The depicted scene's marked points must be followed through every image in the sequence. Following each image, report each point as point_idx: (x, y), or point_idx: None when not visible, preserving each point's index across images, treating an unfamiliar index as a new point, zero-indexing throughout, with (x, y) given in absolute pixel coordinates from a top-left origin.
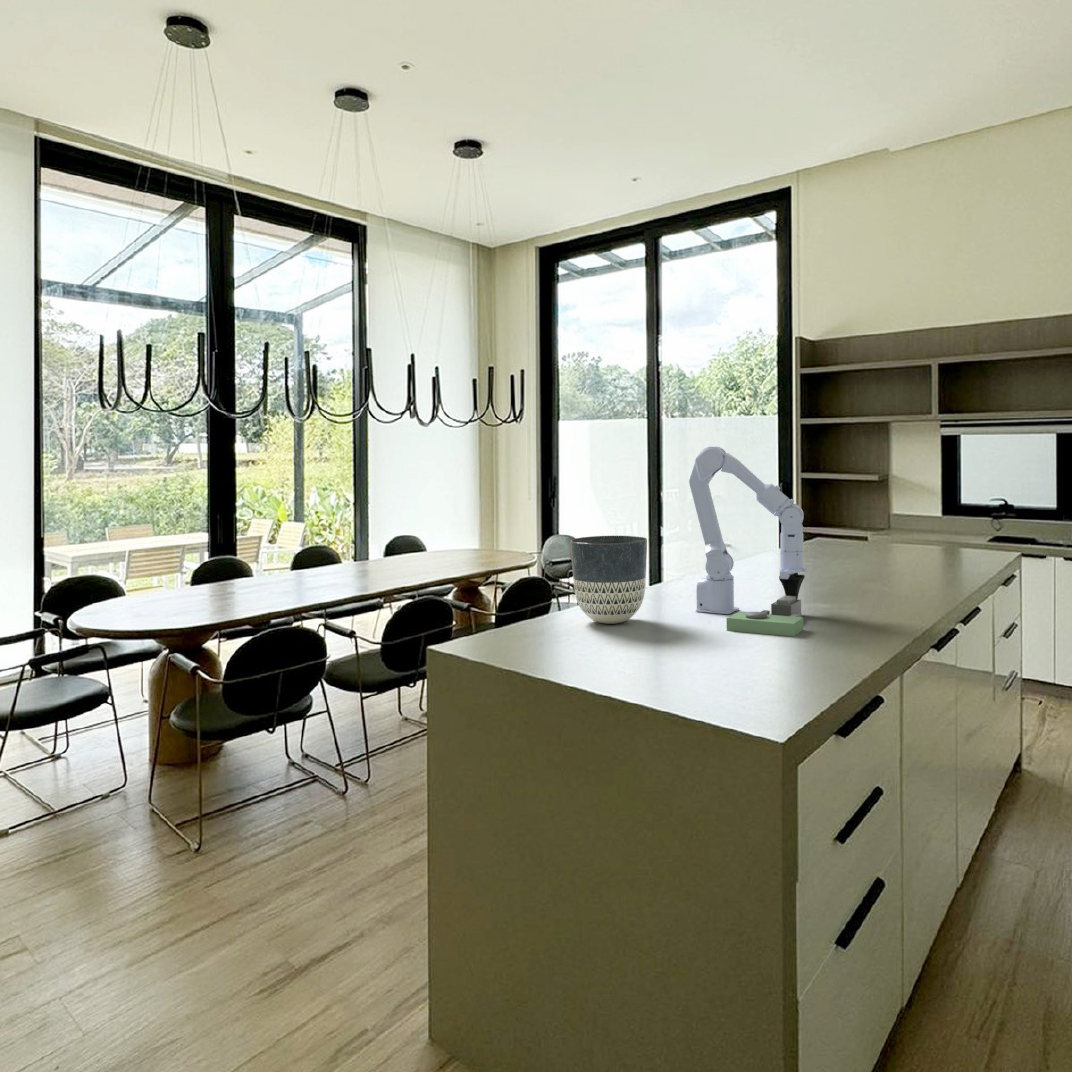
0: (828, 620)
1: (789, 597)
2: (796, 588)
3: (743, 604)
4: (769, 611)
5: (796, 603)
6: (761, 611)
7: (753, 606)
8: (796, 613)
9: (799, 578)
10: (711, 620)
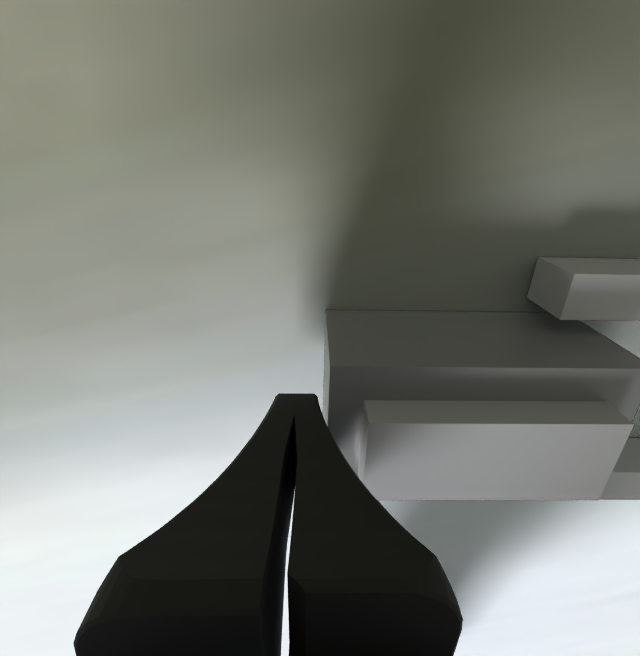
0: (472, 53)
1: (452, 451)
2: (359, 482)
3: None
4: None
5: (483, 362)
6: None
7: None
8: (600, 302)
9: (442, 597)
10: (583, 601)
